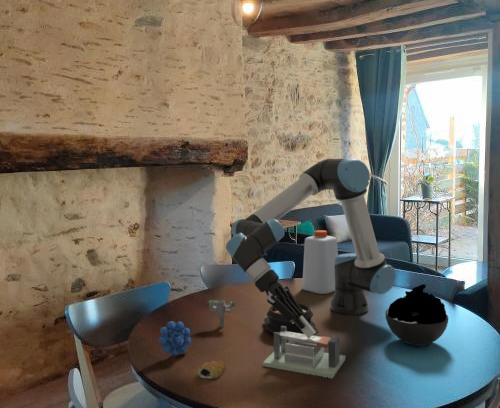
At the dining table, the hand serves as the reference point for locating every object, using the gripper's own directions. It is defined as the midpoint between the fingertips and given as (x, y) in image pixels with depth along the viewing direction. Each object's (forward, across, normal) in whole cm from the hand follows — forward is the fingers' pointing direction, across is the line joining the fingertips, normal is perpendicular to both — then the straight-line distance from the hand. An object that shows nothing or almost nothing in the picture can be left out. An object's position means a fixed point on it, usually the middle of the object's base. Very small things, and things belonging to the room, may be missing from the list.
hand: (312, 335), depth 149 cm
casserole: (-5, -25, -19) cm, 32 cm away
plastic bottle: (-10, -80, -22) cm, 83 cm away
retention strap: (-1, -1, -4) cm, 4 cm away
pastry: (-10, +17, -26) cm, 33 cm away
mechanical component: (-22, -18, -37) cm, 47 cm away
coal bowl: (+25, -30, +13) cm, 41 cm away
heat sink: (+5, -1, -7) cm, 9 cm away
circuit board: (+5, -1, -9) cm, 10 cm away
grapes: (-22, +11, -38) cm, 45 cm away
